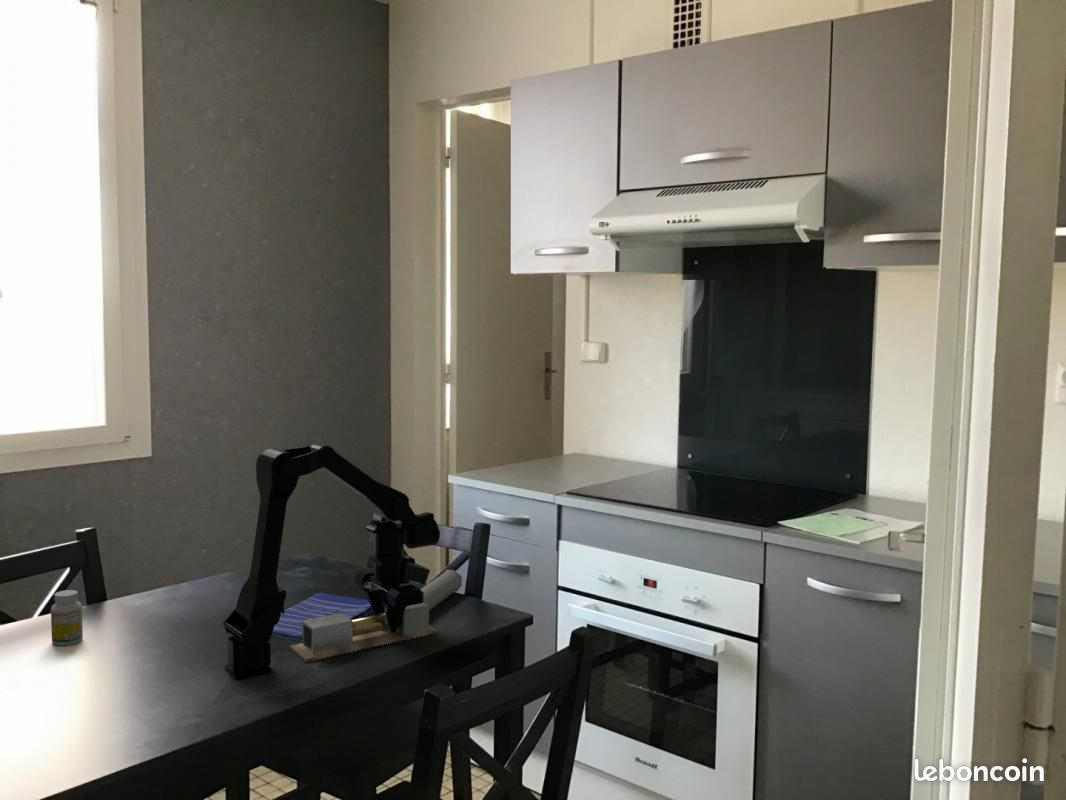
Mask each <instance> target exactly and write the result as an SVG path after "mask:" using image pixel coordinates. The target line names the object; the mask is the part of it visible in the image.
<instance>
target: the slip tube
mask: <svg viewBox="0 0 1066 800" xmlns="http://www.w3.org/2000/svg"><path fill="white" fill-rule="evenodd" d="M352 621H353V637H354V636H359V635H364V634H368V633H373V632H378V631H388V630H390V628H389V625H388V622H387V618H386V614H385V612H384V613H380V614H379V615H369V616H367V617H364V618H359V619H354V620H352ZM402 626H403V615H402V617H401V620H400V623H399V626H398V627H402Z"/></svg>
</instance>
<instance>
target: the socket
mask: <svg viewBox="0 0 1066 800" xmlns="http://www.w3.org/2000/svg"><path fill="white" fill-rule="evenodd" d="M429 619H430V611H429V605H427V604H426V603H424V602H423V603H421V604H416V605H410V606H407V607H406V608H405V610H404V612H403V626H402V627H398V629H397V631H398V632H400V633H401V634H403V635H404V636H405V635H409V634H414V633H419V632H423V631H428V630H429V626H430V620H429Z"/></svg>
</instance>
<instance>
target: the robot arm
mask: <svg viewBox="0 0 1066 800" xmlns="http://www.w3.org/2000/svg"><path fill="white" fill-rule="evenodd" d="M255 464H256V465H255V468H256V469H255V474H256V475H255V476H256V484H257V488H258V493H259V497H260V498H259V499H260V500H259V501H260V502H259V509H258V516H257V521H256V528H255V529H256V530H255V534H254V535H255V536H254V544H253V551H252V558H251V565H250V571H249V575H248V577H247V579H246V581H245V582H244V584H243V586H242V587H241V589H240V592H239V595H238V599H237V602H236V605H235V608H234V609H233V610H232V612H230V614H229V615H228V617H227V618H226V619H225V620H224V621H223V623H222V626H223V629H224V631H225V633H226V634H227V635H230V636H228V637H227V664H225V665H224V669H225V670H226V671H227V672H228V673H229V674H230V675H231V676H232V677H233V679H235V680H241V679H245V678H249V677H253V676H258V675H262V674H267V673H271V672H272V668H271V663H272V659H271V658H272V657H271V656H272V653H271V650H272V649H271V647H272V646H271V645H272V643H270V642H269V641H271V638H272V636H271V635H272V632H273V629H274V626H275V625H276V624H278V622H279V620H280V617H281V613H283V614H284V613H285V612H284V610H285V600H286V597H287V590H286V589H284V588H281V587H280V586H279V585H278V581H277V579H278V577H277V576H278V572H279V571H278V568H279V562H280V555H281V548H282V540H283V533H284V526H285V520H286V512H287V505H288V502H289V500H290V498H291V497H292V494H293V493H294V491H295V490H296V488H297V485H298V482H299V479H300V477H301V476H305V475H310V474H311V473H314V472H316V471H317V470H319V469H321V470H323V471H324V472H326V473H327V474H328V475H330V476H331V477H332V478H334V479H336V480H337V481H338V482H339V483H341V484H343V485H344V486H345V487H347V488H348V489H350V490H351V491H352V492H354V493H355V494H357V495H358V496H359V497H360V498H361V499H362V502H363V503H364V505H365V506H366V507H367V508H368V509H369V510H371V512H372V513H373V514H375V515H376V516H379V517H382V518H384V519H387V520H385V521H380V520H379V519H376V518H373V519H372V520H371V522H370V523H368V524H367V525H366V526H365V527H364V530H365V531H367V532H368V533H372V534H374V555H370V558H369V559H370V562H372V563H374V565H373V567H370V568H363V569H359V570H358V571H357V572H355V574H354V584H355V585H357V586H358V587H362V590H361V591H362V592H363V594H364V595H365V598H366V599H367V600H368V602H369V604H370V606H371V608H372V610H373V612H374V613H373V614H374V615H379V614H380V613H384V612H385V614H386V618H387V622H388V625H389V628H390V631H391V632H392V633H393V632H396V631H397V629H398V626H399V623H400V620H401V617H402V615H403V612H404V610H405V608H406V607H407V606H410V605H416V604H421V603H423V602H424V593H423V592H422V591H421V590H420V589H421V588H419V587H417V586H415V585H413V584H410V582H416V583H419V584H420V585H422V586H423V585H424V586H426V585H427V581H428V578H429V576H430V571H431V569H429V568H427V567H426V566H423V565H421V564H418V563H416V558H414V557H411V556H410V555H409V556H408V555H405V554H404V550H405V549H404V548H405V547H406V548H407V549H409V550H411V549H412V550H413V549H418V548H424V547H430V546H436V545H437V544H438V542H439V541H440V537H441V530H440V529H439V525H438V522H437V521H436V519H435V514H434V513H432V512H429V511H427V512H426V511H425V512H422V513H418V514H416V513H415V512H414V511H413V509H412V507H411V506H410V499H409V496H408V495H407V494H406V493H404V492H403V491H399V490H398V489H395V488H393V487H391V486H388V485H386V484H383V483H381V482H378V481H376V480H375V479H374V478H373V477H371V476H370V475H369V474H367V473H365V472H364V471H363V470H362V469H360V468H359V467H357V466H356V465H355V464H353V463H352V462H350V461H349V460H348V459H346V458H345V457H343V456H342V455H340V453H338V452H336V451H335V449H334V448H333V447H332V446H330V445H326V444H323V443H314V444H309V445H307V446H300V447H291V448H286V449H278V448H274V447H273V448H271V447H270V448H268V449H265V450H264V451H263V452H261V453H260V454H259V455H258V457H257V459H256V462H255ZM397 521H398V522H400V523H396V522H397ZM364 586H365V587H364ZM363 587H364V588H363ZM374 615H373V616H374Z"/></svg>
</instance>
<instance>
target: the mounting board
mask: <svg viewBox="0 0 1066 800" xmlns="http://www.w3.org/2000/svg"><path fill="white" fill-rule="evenodd" d="M437 632H439V630H438V629H436V628H435V627H432V626H431V625H429V630H428V631H423V632H419V633H414V634H409V635H405V636H404V635H403V634H401V633H400V632H398V631H396V632H393V633H392V632H391V631H390V630H388V631H378V632H373V633H368V634H364V635H359V636H354V637H353V646H350V647H346V648H341V649H337V650H332V651H327V652H323V653H318V654H314V655H313V654H312V653H310V652H309V651H308V650H307V649H305V648H304V647H303V646H302V642H301V643H296V644H292V645H289V650H290V651H291V652H293V653H294V654H295V655H296V656H297V657H298V658H299V659H301V660H302V661H303V662H305V663H309V662H313V661H317V660H318V659H319V660H323V659H327V657H328V658H332V657H336V656H335V655H337V656H341V655H345V654H344V653H346V654H349V653H348V652H350V653H354V652H353V651H355V652H358V651H357V650H359V651H362V650H361V649H364V650H366V649H365V648H369V649H371V648H370V647H373V646H378V645H382V646H384V645H383V644H387V645H389V644H388V643H391V644H393V643H392V642H396V641H400V642H402V641H401V640H405V641H407V640H406V639H409V640H412V639H411V638H414V639H417V638H416V637H418V638H421V637H420V636H423V637H425V635H427V636H430V635H429V634H432V635H434V634H433V633H436V634H438V633H437ZM396 643H397V642H396ZM378 647H379V646H378ZM373 648H374V647H373ZM340 654H341V655H340ZM331 656H332V657H331ZM322 658H323V659H322ZM319 660H318V661H319Z"/></svg>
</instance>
